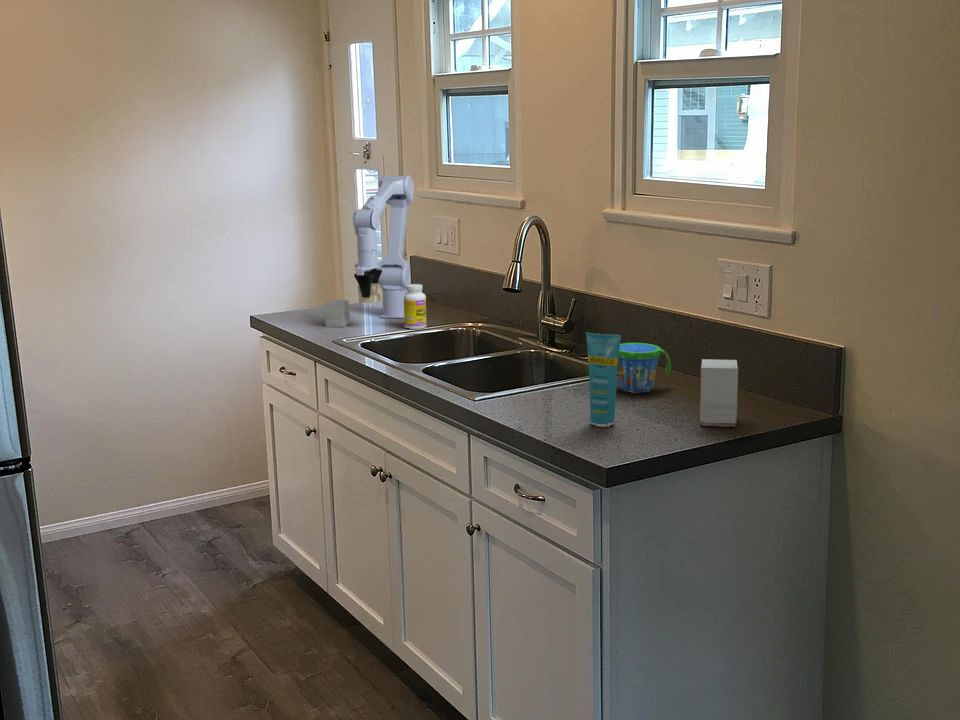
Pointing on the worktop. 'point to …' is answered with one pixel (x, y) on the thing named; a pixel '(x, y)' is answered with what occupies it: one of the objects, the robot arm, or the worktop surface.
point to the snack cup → (639, 366)
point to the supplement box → (719, 391)
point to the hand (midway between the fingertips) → (369, 295)
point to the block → (373, 295)
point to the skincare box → (337, 313)
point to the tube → (603, 376)
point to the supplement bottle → (415, 307)
